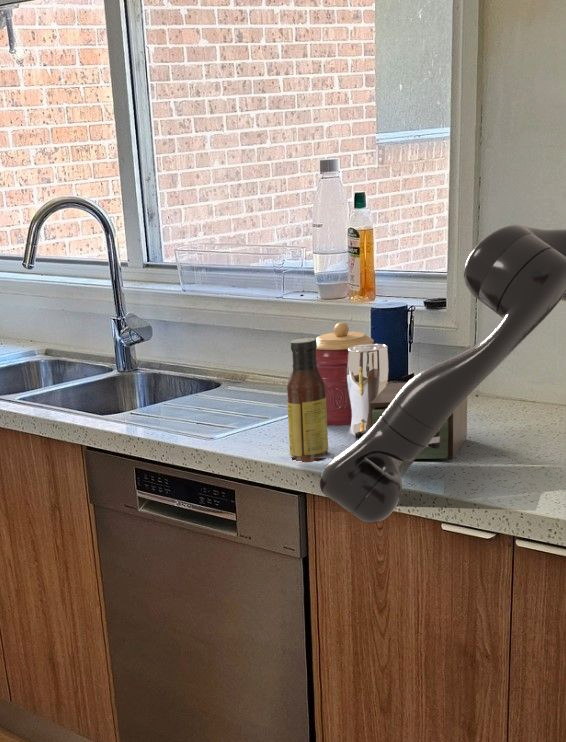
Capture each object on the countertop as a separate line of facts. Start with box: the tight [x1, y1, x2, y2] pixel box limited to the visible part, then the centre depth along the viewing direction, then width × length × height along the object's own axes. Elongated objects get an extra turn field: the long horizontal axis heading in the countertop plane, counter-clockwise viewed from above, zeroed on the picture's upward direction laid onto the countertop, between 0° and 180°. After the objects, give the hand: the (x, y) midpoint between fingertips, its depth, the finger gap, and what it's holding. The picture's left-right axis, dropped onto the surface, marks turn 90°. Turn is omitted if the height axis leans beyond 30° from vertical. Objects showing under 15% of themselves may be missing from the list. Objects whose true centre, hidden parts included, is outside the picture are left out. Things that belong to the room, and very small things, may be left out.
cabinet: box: [370, 382, 468, 461], centre depth 198 cm, size 15×13×10 cm
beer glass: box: [346, 343, 389, 436], centre depth 210 cm, size 7×7×15 cm
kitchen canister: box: [315, 321, 375, 427], centre depth 222 cm, size 13×13×18 cm
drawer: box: [372, 407, 448, 460], centre depth 195 cm, size 15×11×8 cm
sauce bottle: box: [286, 337, 329, 463], centre depth 198 cm, size 6×6×20 cm
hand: (408, 425), depth 189 cm, fingers closed
